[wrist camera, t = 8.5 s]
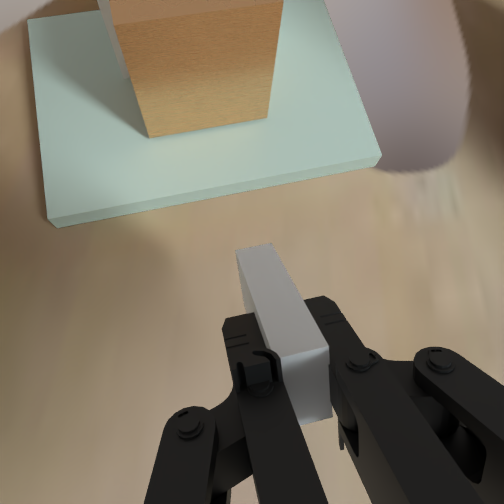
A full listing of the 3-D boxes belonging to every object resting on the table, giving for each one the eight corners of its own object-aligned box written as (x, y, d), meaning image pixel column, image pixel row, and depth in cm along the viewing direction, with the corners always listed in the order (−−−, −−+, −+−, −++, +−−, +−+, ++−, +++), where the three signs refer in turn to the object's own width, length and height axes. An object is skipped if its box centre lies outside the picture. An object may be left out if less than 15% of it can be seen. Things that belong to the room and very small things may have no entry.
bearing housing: (312, -3, 34) (340, -133, 26) (374, 166, 30) (433, 76, 21) (36, 36, 32) (-35, -94, 23) (57, 228, 27) (-23, 154, 19)
